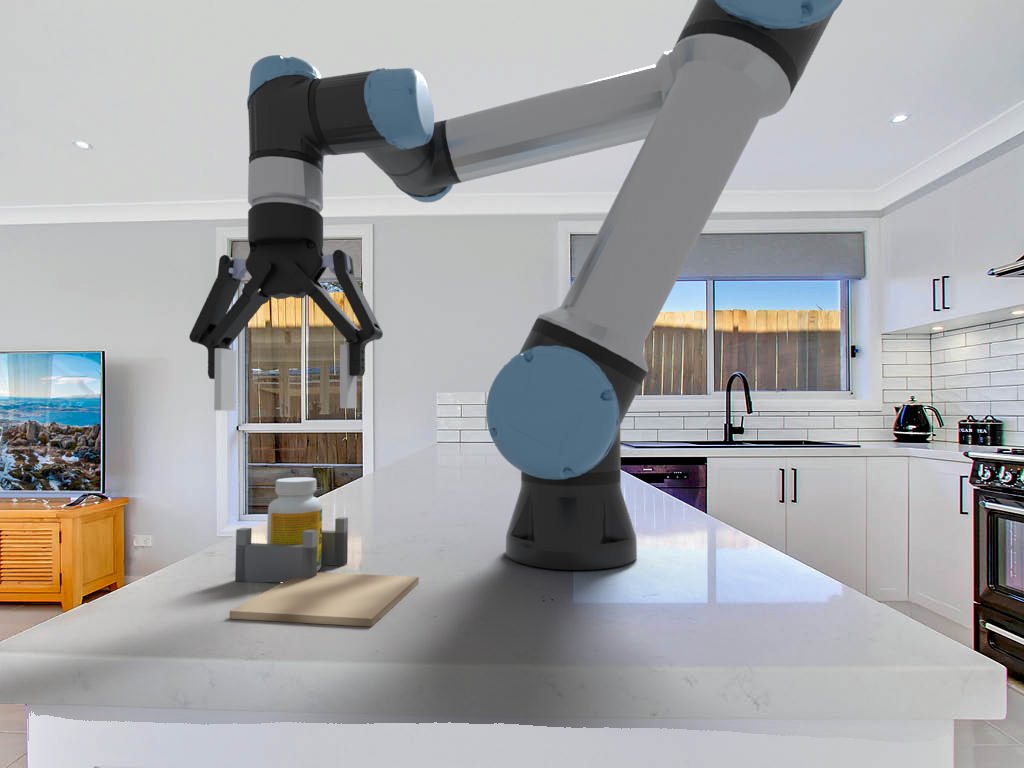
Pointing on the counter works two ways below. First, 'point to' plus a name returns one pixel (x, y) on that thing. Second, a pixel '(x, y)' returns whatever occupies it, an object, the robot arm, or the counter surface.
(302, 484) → the supplement bottle
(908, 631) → the counter surface
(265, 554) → the holder
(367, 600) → the square wooden board
